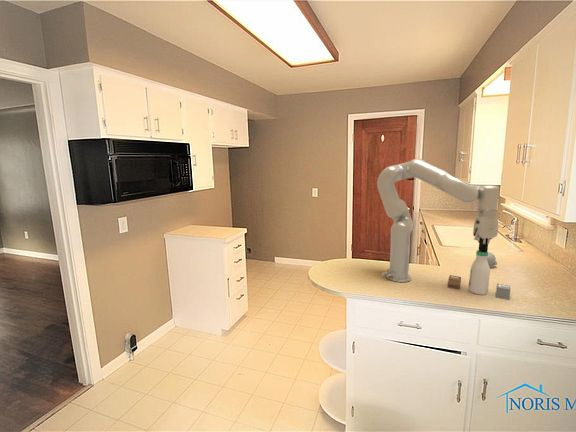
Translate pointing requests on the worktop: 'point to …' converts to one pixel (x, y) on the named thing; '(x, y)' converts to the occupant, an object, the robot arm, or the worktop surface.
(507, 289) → the slate grey block
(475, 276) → the milk bottle
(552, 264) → the worktop surface
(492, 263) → the chubby cartoon animal
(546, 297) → the worktop surface
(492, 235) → the robot arm
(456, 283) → the walnut block
